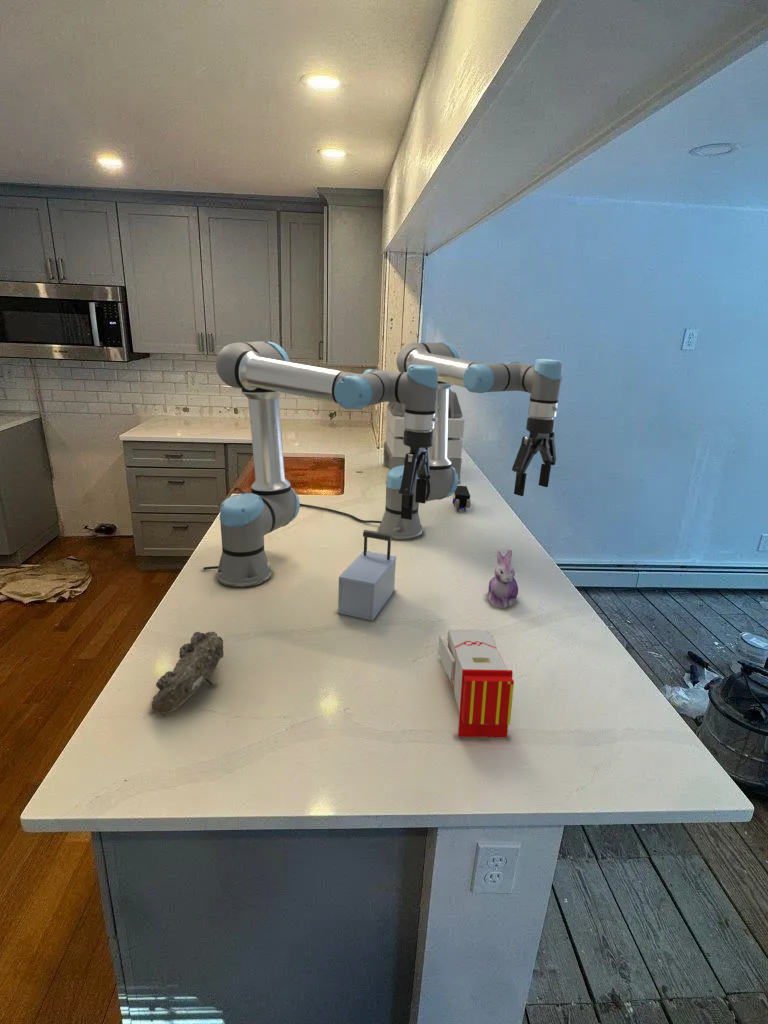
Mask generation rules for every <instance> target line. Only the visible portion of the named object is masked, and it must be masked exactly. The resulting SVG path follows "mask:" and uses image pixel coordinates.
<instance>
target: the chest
mask: <svg viewBox="0 0 768 1024" xmlns="http://www.w3.org/2000/svg"><path fill="white" fill-rule="evenodd" d="M396 562H397V559H396V560H395V561H394V562H393V564H392V565H391V566H390V567H389V569H388V570H387V571H386V572H385V574H384V575H383V576H382V577H381V579H380V580H379V581H378V582H377V583H376V585H375V586H369V585H364V584H359V583H354V582H349V581H344V580H339V579H338V599H337V600H338V602H337V603H338V605H337V606H338V608H337V609H338V611H337V614H340V615H341V614H342V615H345V616H351V617H354V618H359V619H364V620H369V621H374V620H375V618H376V617H377V615H378V614H379V613H380V611H381V610H382V609H383V607H384V606H385V605H386V603H387V601H388V600H389V599H390V597H392V595H393V594H394V592H395V583H396V565H397V563H396Z"/></svg>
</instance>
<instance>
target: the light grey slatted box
mask: <svg viewBox="0 0 768 1024" xmlns="http://www.w3.org/2000/svg"><path fill="white" fill-rule="evenodd" d="M387 403H388V404H387V405H386V413H385V414H386V415H385V423H386V428H385V438H384V442H383V466H384V467H388V468H389V471H390V470H391V469H392V468H394V467H398V466H403V465H405V455H406V453H407V454H408V453H410V447H409V446H406V445H404V443H403V435H404V430H405V429H406V428H405V427H404V416H405V404H404V403H395V402H387ZM464 429H465V419H464V418H463V411H462V408H461V405H460V402H459V398H458V395H457V392H455V391H453V390H452V389H451V388H449V398H448V443H447V458H448V459H449V460H450V461H451V466H452V467H453V468H454V469H455V470H456V473H457V476H458V484H459V483H461V472H462V461H463V460H462V453H463V442H464V441H463V440H462V439H463V438H464V431H465V430H464Z"/></svg>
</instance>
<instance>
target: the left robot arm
mask: <svg viewBox="0 0 768 1024" xmlns="http://www.w3.org/2000/svg"><path fill="white" fill-rule="evenodd" d="M215 362H216V363H215V368H216V373H217V375H218V377H219V378H220V379H221V381H222V382H223V383H224V384H226V385H227V386H229V387H231V388H235V389H241V393H242V394H243V395H244V396H245V397H246V398H247V401H248V414H249V423H250V424H249V425H250V433H251V447H252V455H253V468H254V477H255V478H254V479H255V480H254V482H253V483H252V484H251V485H250V490H251V492H245V493H240V494H233V495H230V496H229V497H227V498H225V499H224V500H223V501H222V502H221V504H220V508H219V522H220V524H219V525H220V536H221V549H222V553H221V556H220V559H219V563H218V565H214V566H213V565H212V566H203V568H202V569H203V570H204V571H205V570H216V569H217V570H216V578H217V581H218V582H219V583H220V584H221V585H224V586H227V587H231V588H250V587H256V586H259V585H262V584H264V583H265V582H268V581H269V580H270V578H271V577H272V566H271V562H270V560H269V559H268V556H267V553H266V551H265V536H266V535H268V534H271V533H272V532H275V531H276V530H278V529H280V528H282V527H286V526H287V525H289V524H290V523H292V522H293V521H294V520H295V519H296V518H297V516H298V514H299V512H300V507H301V506H300V504H301V501H300V498H299V495H298V493H296V491H295V489H294V488H292V485H291V482H290V481H289V480H288V479H287V478H286V473H285V460H284V459H285V458H284V448H283V435H282V421H281V408H280V407H281V406H280V396H281V395H282V394H283V393H284V394H289V395H293V396H298V397H303V398H309V399H313V400H317V401H318V400H319V401H324V402H329V403H334V404H338V405H339V406H340V407H341V408H343V409H345V410H350V411H352V410H362V409H363V408H366V407H371V406H374V405H378V404H381V403H389V402H395V403H404V404H405V416H404V427H405V428H406V429H405V430H404V435H403V443H404V445H406V446H409V447H410V453H408V454H407V453H406V455H405V465H404V471H403V476H402V482H401V487H400V490H399V494H402V507H401V518H402V519H409V520H412V512H413V497H414V494H413V489H414V485H415V481H416V476H417V475H418V478H420V479H417V482H416V497H415V502H417V503H419V504H426V503H427V501H426V489H427V480H426V479H430V477H431V475H429V474H430V470H429V453H428V451H429V447H431V446H432V445H433V439H434V432H433V431H432V430H433V429H434V423H435V422H436V421H437V418H435V411H436V410H435V409H436V398H437V388H438V370H437V368H436V367H434V366H429V365H409V366H408V368H407V372H399V371H394V370H385V369H381V368H374V369H373V368H368V369H366V370H364V371H363V373H355V372H349V371H343V370H337V369H332V368H326V367H321V366H315V365H309V364H308V365H307V364H305V363H304V364H303V363H297V362H291V361H290V358H289V356H288V354H287V352H286V351H285V350H284V349H283V347H282V346H280V345H279V344H278V343H276V342H272V341H265V340H258V341H246V342H245V341H244V342H238V341H237V342H232V343H229V344H227V345H225V346H224V347H223V348H222V349H221V350H220V351H219V353H218V354H217V356H216V359H215ZM407 489H408V490H407Z"/></svg>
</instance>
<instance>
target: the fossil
mask: <svg viewBox="0 0 768 1024" xmlns="http://www.w3.org/2000/svg"><path fill="white" fill-rule="evenodd" d="M178 654H179V660H178V661H177V663H176V664H175V666H174V668H173V670H172V671H171V670H170V671H166V672H165V673H164V674H163V675H161V676H160V677H159V678H158V679H157V682H156V683H155V687H157V689H158V691H157V693H156V694H155V695H154V696H152V700H151V709H152V711H153V712H157V713H158V714H165V713H170V712H174V711H176V710H177V709H178V708H179V707H180V706H181V705H182V704H184V703H185V702H186V701H187V700H188V699H189V698H190V697H191V696H193V695H194V694H195V693H196V692H197V691H198V689H199V688H200V686H201V685H202V684H204V682H206V683H208V684H209V686H212V687H213V686H214V683H212V681H211V680H209V678H208V677H209V675H210V674H213V673H214V671H215V670H216V669H217V667H218V665H219V663H220V661H221V660H222V659H223V658H224V654H225V653H224V640H223V638H222V637H221V636H218V634H217V633H216V632H215V631H208V632H207V631H206V632H205V633H204V632H200V631H195V632H193V634H192V636H191V638H190V642H187V643H184V644H183V645H182V646H180V648H179V653H178Z"/></svg>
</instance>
